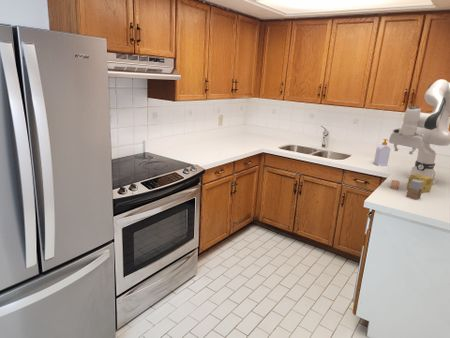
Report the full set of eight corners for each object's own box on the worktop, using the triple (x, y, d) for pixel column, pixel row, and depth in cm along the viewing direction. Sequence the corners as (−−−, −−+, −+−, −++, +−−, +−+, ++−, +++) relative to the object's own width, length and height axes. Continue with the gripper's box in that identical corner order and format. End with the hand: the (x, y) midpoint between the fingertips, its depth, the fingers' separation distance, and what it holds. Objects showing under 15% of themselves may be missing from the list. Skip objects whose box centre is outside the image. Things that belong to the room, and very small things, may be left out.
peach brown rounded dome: (392, 186, 221) (393, 179, 220) (399, 189, 217) (401, 181, 216) (388, 187, 218) (390, 180, 217) (396, 190, 214) (397, 183, 213)
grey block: (412, 186, 204) (414, 179, 202) (421, 189, 200) (423, 181, 199) (409, 187, 201) (411, 180, 199) (417, 190, 197) (419, 182, 196)
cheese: (420, 193, 211) (423, 178, 208) (405, 187, 221) (408, 174, 218) (430, 192, 215) (434, 177, 213) (415, 186, 225) (419, 173, 222)
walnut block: (410, 195, 206) (412, 186, 205) (420, 198, 202) (422, 189, 200) (405, 196, 203) (408, 187, 201) (415, 199, 198) (418, 190, 196)
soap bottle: (378, 166, 276) (383, 139, 270) (373, 163, 282) (378, 138, 276) (387, 166, 277) (393, 140, 271) (382, 164, 284) (388, 138, 277)
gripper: (427, 134, 202) (422, 156, 205) (394, 129, 217) (390, 149, 221) (423, 134, 198) (417, 156, 202) (390, 129, 213) (385, 149, 217)
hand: (403, 152), depth 211 cm, fingers open, 8 cm apart
